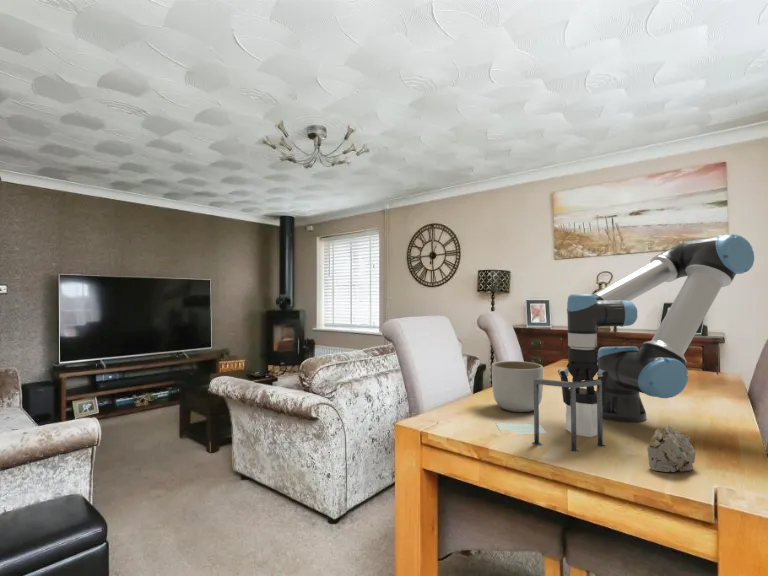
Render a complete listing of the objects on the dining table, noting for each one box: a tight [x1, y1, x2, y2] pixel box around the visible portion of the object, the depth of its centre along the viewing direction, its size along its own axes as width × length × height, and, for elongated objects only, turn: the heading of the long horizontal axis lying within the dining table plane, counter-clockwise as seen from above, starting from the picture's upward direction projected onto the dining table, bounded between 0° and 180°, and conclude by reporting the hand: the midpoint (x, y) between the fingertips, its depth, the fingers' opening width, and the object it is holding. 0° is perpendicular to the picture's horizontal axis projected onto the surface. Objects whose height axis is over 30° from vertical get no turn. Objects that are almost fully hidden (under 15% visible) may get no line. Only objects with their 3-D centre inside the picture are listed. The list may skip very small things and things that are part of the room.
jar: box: [565, 387, 597, 438], centre depth 116 cm, size 9×8×12 cm
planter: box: [491, 360, 544, 413], centre depth 141 cm, size 17×17×15 cm
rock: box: [646, 425, 697, 473], centre depth 91 cm, size 12×7×10 cm, turn 111°
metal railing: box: [531, 378, 606, 452], centre depth 103 cm, size 18×6×18 cm, turn 85°
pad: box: [495, 423, 548, 435], centre depth 117 cm, size 13×13×1 cm
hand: (583, 429), depth 116 cm, fingers open, 3 cm apart
